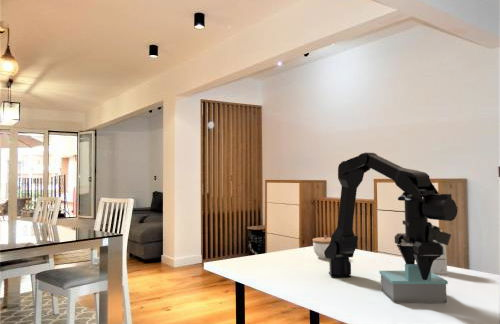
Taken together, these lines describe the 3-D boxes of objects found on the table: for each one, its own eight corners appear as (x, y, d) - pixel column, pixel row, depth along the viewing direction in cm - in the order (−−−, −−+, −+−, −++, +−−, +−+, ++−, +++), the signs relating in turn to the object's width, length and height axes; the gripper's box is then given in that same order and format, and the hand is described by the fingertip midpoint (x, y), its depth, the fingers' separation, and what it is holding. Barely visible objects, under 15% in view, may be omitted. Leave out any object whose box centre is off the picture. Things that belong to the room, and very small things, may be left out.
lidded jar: (311, 255, 167) (311, 233, 167) (336, 255, 167) (335, 233, 167) (314, 260, 156) (314, 237, 157) (341, 260, 156) (340, 237, 156)
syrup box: (447, 274, 132) (446, 232, 132) (429, 273, 133) (428, 231, 133) (442, 270, 137) (441, 229, 138) (425, 269, 138) (424, 229, 139)
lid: (392, 287, 103) (391, 266, 103) (379, 276, 114) (379, 257, 114) (447, 287, 102) (447, 266, 102) (429, 276, 114) (428, 257, 114)
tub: (393, 302, 103) (393, 283, 103) (381, 290, 114) (380, 273, 114) (446, 302, 102) (446, 283, 102) (429, 290, 113) (428, 273, 113)
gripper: (463, 221, 95) (466, 285, 94) (431, 214, 113) (433, 267, 113) (418, 221, 95) (420, 285, 94) (393, 214, 114) (394, 267, 113)
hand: (417, 275), depth 104 cm, fingers open, 9 cm apart
